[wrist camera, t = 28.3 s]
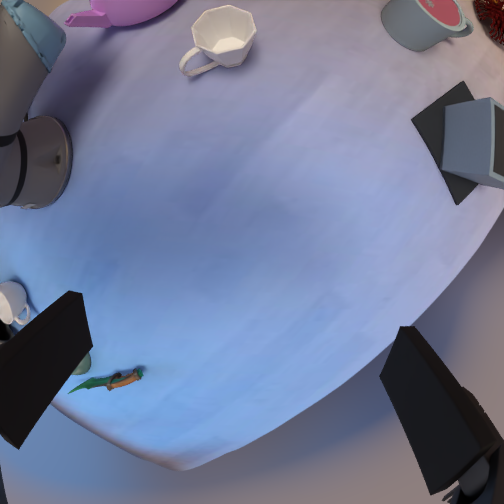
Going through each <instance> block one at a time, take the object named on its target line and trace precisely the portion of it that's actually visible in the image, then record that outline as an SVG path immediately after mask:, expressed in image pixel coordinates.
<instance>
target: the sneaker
mask: <svg viewBox="0 0 504 504" xmlns="http://www.w3.org/2000/svg"><path fill="white" fill-rule="evenodd" d="M13 336H14V333H13V332H12V331H11V329H10V327H9V324H6V323H4V322H3V321H2V320H1V319H0V344H2V343H4V342H6V341H8V340H10V339H11V338H12V337H13Z"/></svg>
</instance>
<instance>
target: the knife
mask: <svg viewBox="0 0 504 504" xmlns="http://www.w3.org/2000/svg"><path fill="white" fill-rule="evenodd" d="M142 376H143V373H142V371H141V370H140V369H137V370H136V369H134V370H133V373H131V374H128V375H126V376H122V374H121V373H116V374H114V375H112V376H109V377H106V378H100V379H95V378H91V379H89V380H87V381H85V382H84V383H82V384H80V385H79V386H77V387H76V388H74V389H73V390H71V391H70V392H69V393H71V392H74V391H76V390H79V389H82V388H87V389H90V388H94V387H99V386H107V389H108V390H109V391H111V390H112V389H114V388H117V387H122V386H125V385H128V384H130V383H132V382H134V381H136V380H137V381H138V380H140V379H141V377H142ZM69 393H68V394H69Z"/></svg>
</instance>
